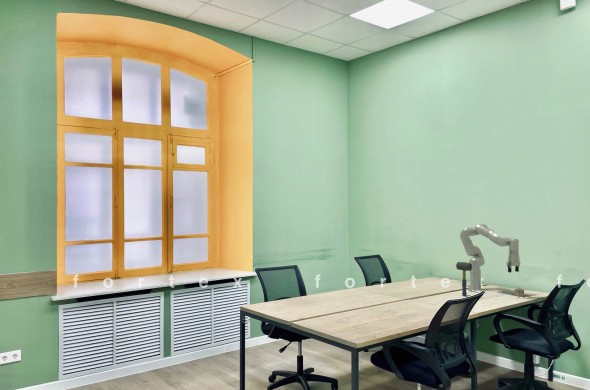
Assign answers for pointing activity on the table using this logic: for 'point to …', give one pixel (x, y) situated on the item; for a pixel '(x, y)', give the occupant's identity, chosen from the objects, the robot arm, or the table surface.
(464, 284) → the rubber mallet
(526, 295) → the base plate
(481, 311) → the table surface
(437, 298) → the table surface
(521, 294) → the wooden collar
